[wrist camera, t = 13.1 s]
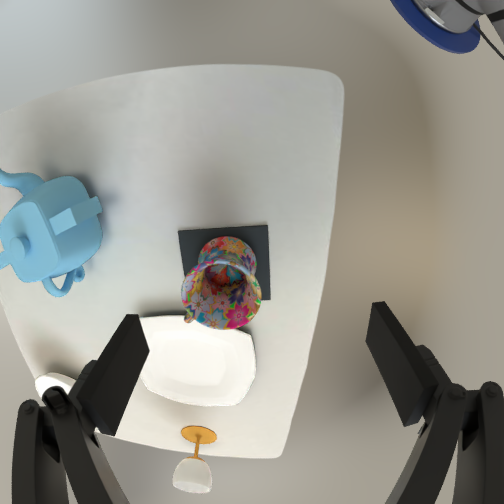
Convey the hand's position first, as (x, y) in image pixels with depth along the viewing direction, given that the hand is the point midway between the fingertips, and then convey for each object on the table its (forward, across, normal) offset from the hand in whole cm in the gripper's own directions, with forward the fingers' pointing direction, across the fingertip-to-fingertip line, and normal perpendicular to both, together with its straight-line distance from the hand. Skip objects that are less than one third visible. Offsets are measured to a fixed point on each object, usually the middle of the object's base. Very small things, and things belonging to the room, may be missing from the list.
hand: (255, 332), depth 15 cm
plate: (+27, -13, -27) cm, 40 cm away
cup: (+26, -17, -54) cm, 62 cm away
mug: (+26, -6, -8) cm, 28 cm away
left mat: (+27, -5, -8) cm, 28 cm away
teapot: (+27, -31, +3) cm, 41 cm away
